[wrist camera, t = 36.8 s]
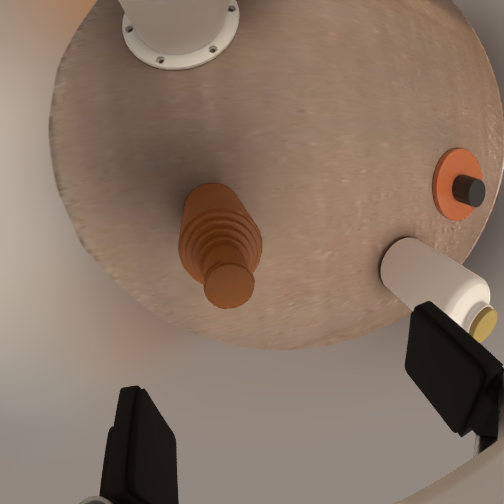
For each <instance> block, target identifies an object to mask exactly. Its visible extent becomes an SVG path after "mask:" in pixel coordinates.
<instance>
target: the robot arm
mask: <svg viewBox="0 0 504 504" xmlns="http://www.w3.org/2000/svg"><path fill="white" fill-rule="evenodd" d="M118 1H119V2H120V4H121V6H122V8H123V9H124V11H125V13H124V16H123V22H122V30H123V36H124V39H125V42H126V44H127V46H128V47H129V49H130V50H131V52H132V53H133V54H134V55H135V56H136V57H137V58H139V59H140V60H141V61H142V62H144V63H146V64H148V65H150V66H152V67H156V68H159V69H165V70H185V69H190V68H195V67H197V66H200V65H203V64H205V63H207V62H209V61H211V60H212V59H214V58H216V57H217V56H218V55H219V54H221V53H222V52H223V51H224V50H225V49H226V48H227V47H228V45H229V44H230V43H231V41H232V39H233V38H234V36H235V34H236V31H237V29H238V24H239V8H238V4H237V1H236V0H118ZM229 10H232V11H233V12H230V11H229ZM130 30H133V31H132V32H130V33H129V31H130ZM212 49H213V50H215V52H214V53H211V52H210V50H212ZM160 60H164V62H163V63H159V61H160ZM502 365H503V364H502V363H500V361H498V360H497V359H496V358H495V357H494V356H493V355H492V354H491V353H489V351H488V350H486V349H485V348H484V347H483V346H482V345H481V344H480V343H479V342H478V341H477V340H475V339H474V338H473V337H472V336H471V335H470V334H469V333H468V332H466V331H465V330H464V329H463V328H462V327H461V326H460V325H458V324H457V323H456V322H455V321H454V320H453V319H451V318H450V317H449V316H448V315H447V314H446V313H444V312H443V311H442V310H441V309H440V308H439V307H437V306H436V305H435V304H434V303H433V302H431V301H426V302H424V303H422V304H419V305H417V306H415V308H414V311H413V312H412V313H411V319H410V329H409V338H408V345H407V353H406V360H405V369H406V372H407V374H408V375H409V376H410V377H411V379H412V380H413V381H414V382H415V384H416V385H417V386H418V387H419V389H420V390H421V391H422V392H423V394H424V395H425V396H426V398H427V399H428V400H429V401H430V403H431V404H432V405H433V407H434V408H435V409H436V411H437V412H438V413H439V414H440V416H441V417H442V418H443V420H444V421H445V422H446V423H447V425H448V426H449V427H450V429H451V430H452V431H453V432H454V433H458V434H459V435H460V436H461V437H463V436H464V435H466V434H467V433H469V432H470V431H471V430H473V431H474V432H475V433H476V439H475V448H474V456H473V459H471V460H469V461H468V462H467V463H465V464H464V465H462V466H460V467H459V468H457V469H456V470H454V471H453V472H451V473H450V474H448V475H446V476H445V477H443V478H441V479H440V480H438V481H436V482H435V483H433V484H431V485H429V486H428V487H426V488H424V489H422V490H421V491H418V492H417V493H415V494H413V495H411V496H409V497H407V498H405V499H403V500H401V501H399V502H397V503H395V504H504V368H503V367H502ZM176 457H177V456H176V439H175V436H174V434H173V432H172V430H171V429H170V428H169V426H168V425H167V423H166V421H165V420H164V418H163V417H162V415H161V414H160V412H159V411H158V409H157V407H156V406H155V404H154V403H153V401H152V400H151V398H150V396H149V395H148V393H147V391H146V390H145V389H141V388H140V387H139V386H130V387H124V388H121V390H120V394H119V399H118V404H117V410H116V416H115V421H114V426H113V427H111V428H110V429H109V432H108V438H107V444H106V450H105V457H104V464H103V471H102V478H101V487H100V496H92V497H88V498H86V499H84V500H83V501H82V502H81V503H80V504H179V502H178V484H177V461H176V460H177V458H176Z"/></svg>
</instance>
